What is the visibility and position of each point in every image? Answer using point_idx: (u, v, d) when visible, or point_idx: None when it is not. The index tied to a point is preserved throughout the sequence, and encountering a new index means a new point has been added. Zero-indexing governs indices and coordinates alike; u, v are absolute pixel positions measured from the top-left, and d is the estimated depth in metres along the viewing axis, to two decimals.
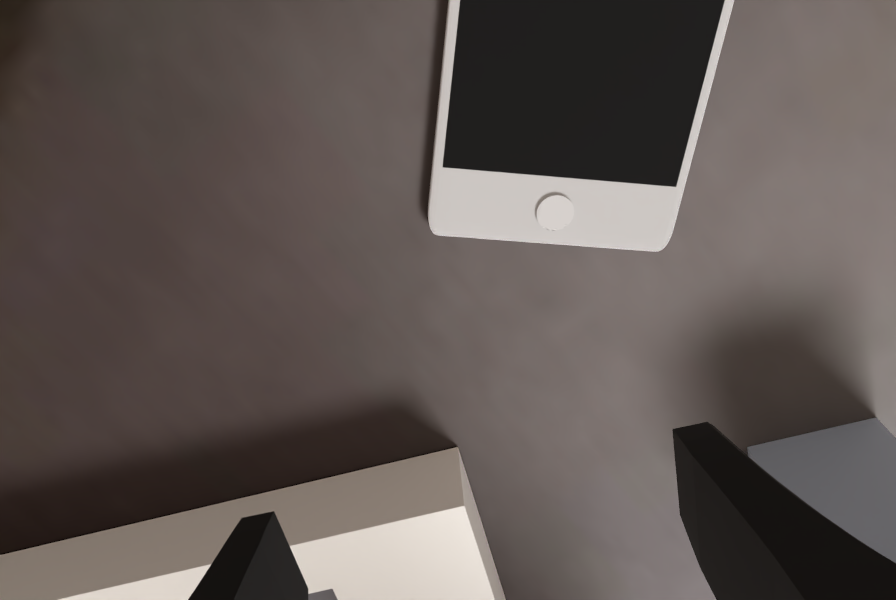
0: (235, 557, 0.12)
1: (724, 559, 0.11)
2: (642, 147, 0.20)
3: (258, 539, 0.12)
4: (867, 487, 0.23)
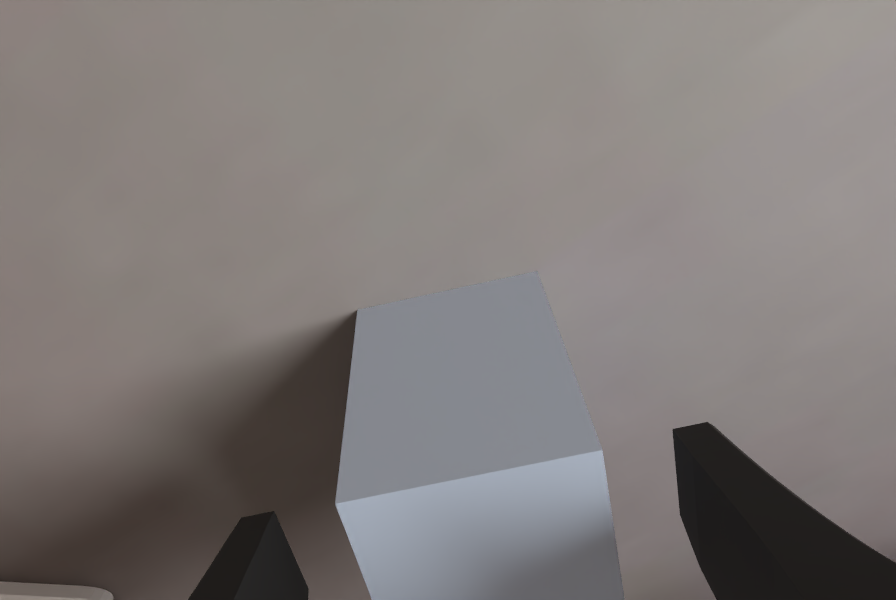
0: (235, 557, 0.12)
1: (724, 559, 0.11)
2: None
3: (258, 539, 0.12)
4: None
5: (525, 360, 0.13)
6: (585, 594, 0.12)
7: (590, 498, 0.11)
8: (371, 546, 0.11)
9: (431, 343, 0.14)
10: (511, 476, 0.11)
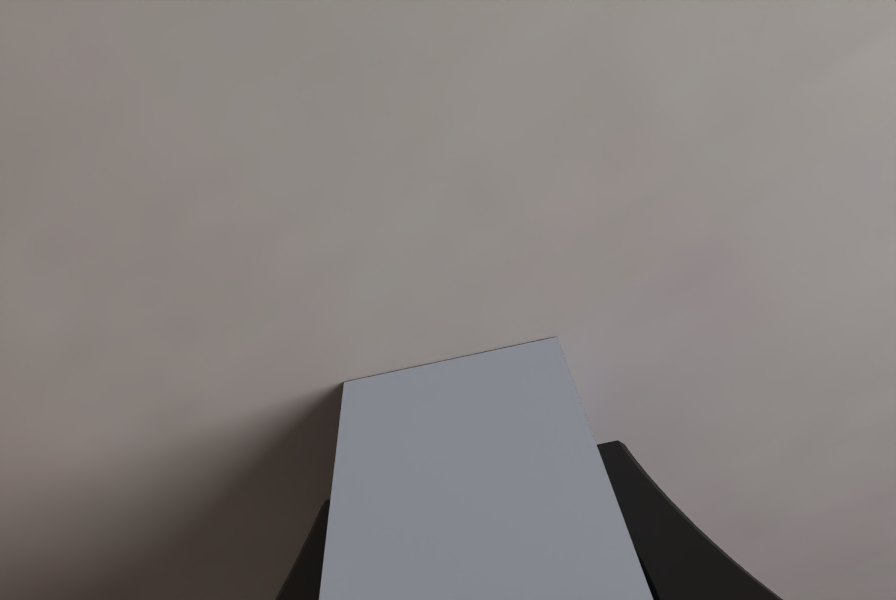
0: None
1: None
2: None
3: None
4: None
5: (549, 466, 0.11)
6: None
7: None
8: None
9: (432, 435, 0.12)
10: None
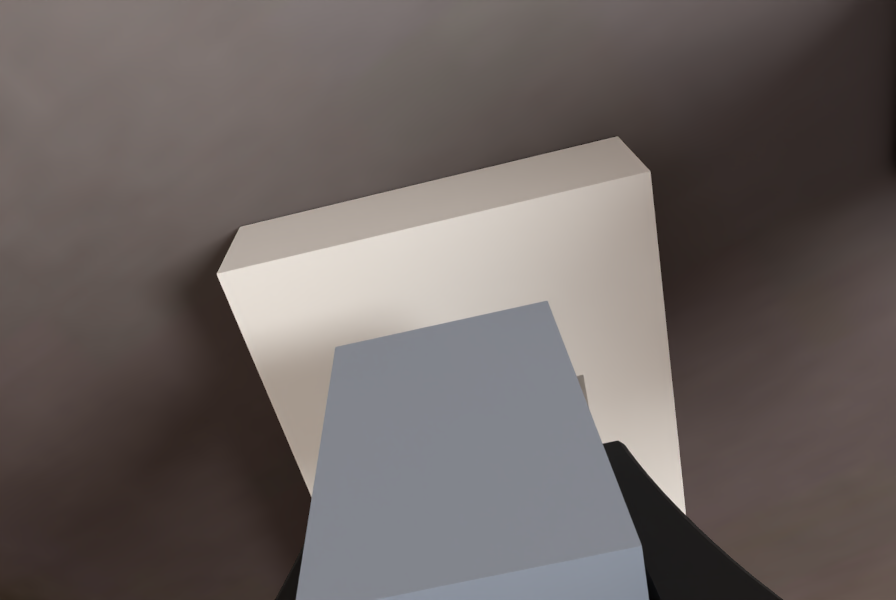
0: None
1: None
2: None
3: None
4: None
5: (536, 416, 0.11)
6: None
7: None
8: None
9: (421, 391, 0.12)
10: (522, 580, 0.08)
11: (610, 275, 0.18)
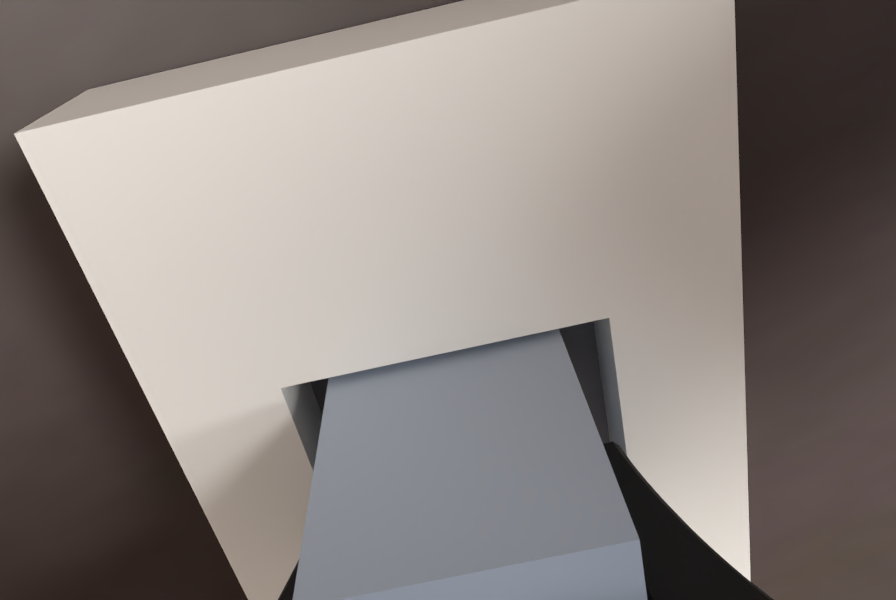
0: None
1: None
2: None
3: None
4: None
5: (535, 411, 0.11)
6: None
7: None
8: None
9: (420, 387, 0.12)
10: (519, 574, 0.08)
11: (657, 152, 0.11)
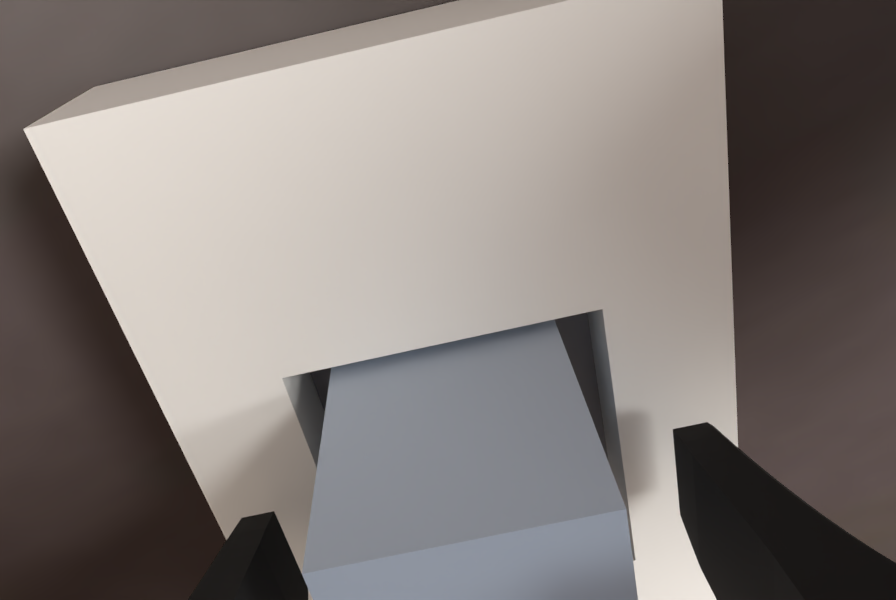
0: (235, 557, 0.12)
1: (724, 558, 0.11)
2: None
3: (258, 539, 0.12)
4: None
5: (529, 391, 0.11)
6: None
7: (611, 566, 0.09)
8: None
9: (420, 369, 0.12)
10: (515, 541, 0.09)
11: (648, 147, 0.11)
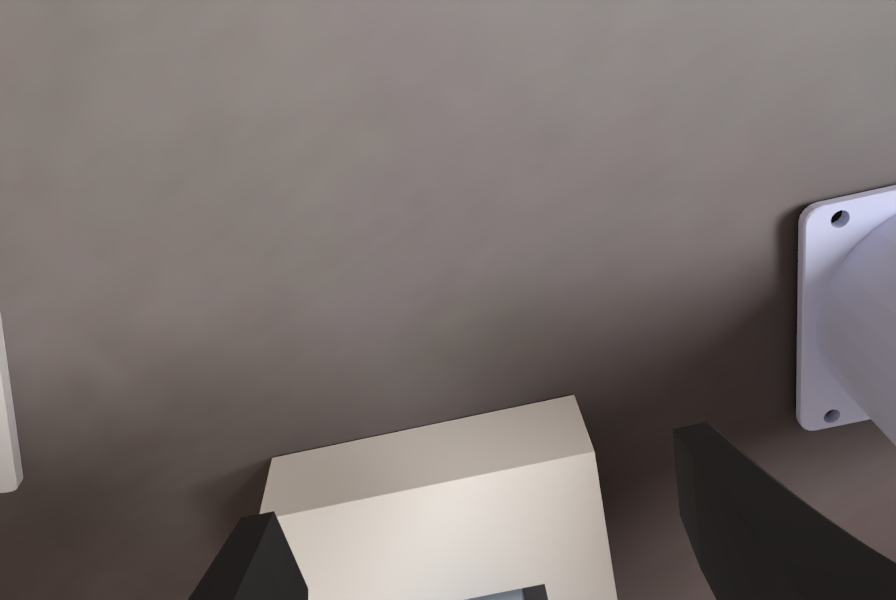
0: (235, 557, 0.12)
1: (724, 559, 0.11)
2: None
3: (258, 539, 0.12)
4: None
5: None
6: None
7: None
8: None
9: None
10: None
11: (564, 518, 0.22)
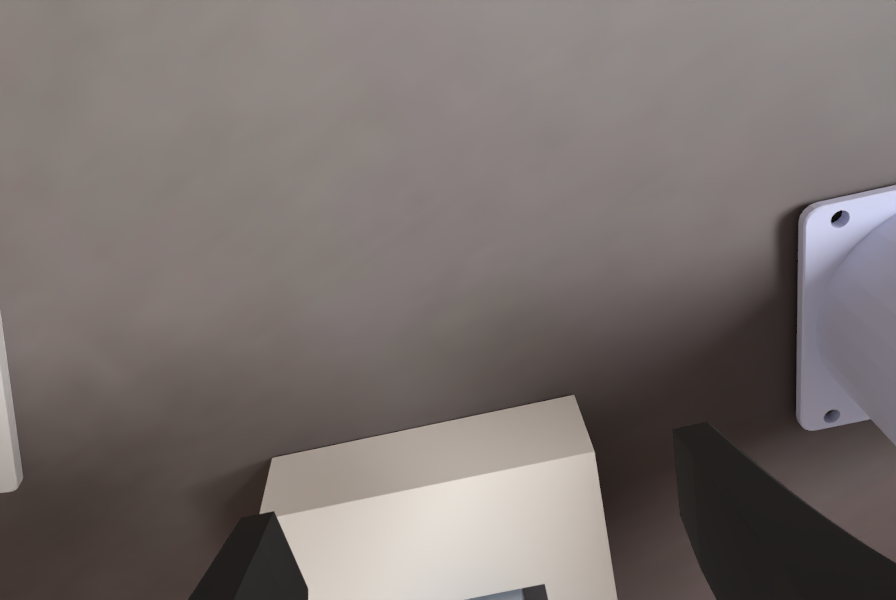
0: (235, 557, 0.12)
1: (724, 559, 0.11)
2: None
3: (258, 539, 0.12)
4: None
5: None
6: None
7: None
8: None
9: None
10: None
11: (564, 518, 0.22)
